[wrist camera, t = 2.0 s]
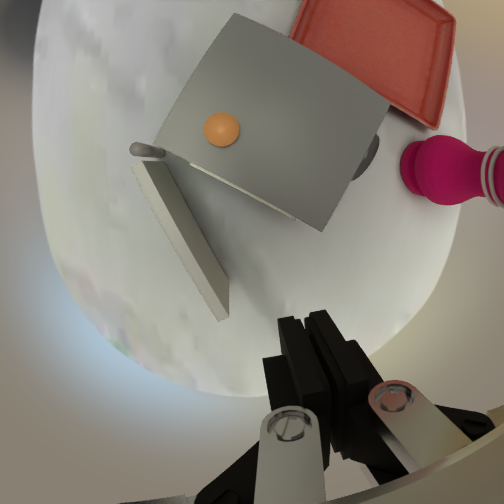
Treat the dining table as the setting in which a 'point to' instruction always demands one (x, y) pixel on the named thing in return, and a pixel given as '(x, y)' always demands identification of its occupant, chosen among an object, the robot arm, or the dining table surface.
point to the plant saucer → (386, 48)
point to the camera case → (275, 121)
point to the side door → (181, 229)
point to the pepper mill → (453, 171)
